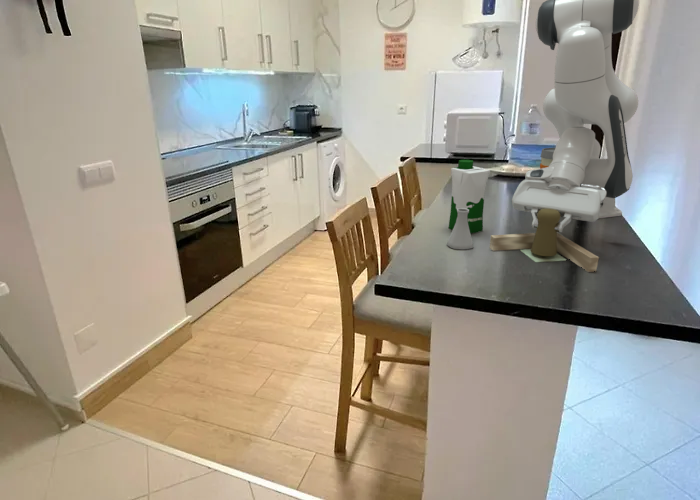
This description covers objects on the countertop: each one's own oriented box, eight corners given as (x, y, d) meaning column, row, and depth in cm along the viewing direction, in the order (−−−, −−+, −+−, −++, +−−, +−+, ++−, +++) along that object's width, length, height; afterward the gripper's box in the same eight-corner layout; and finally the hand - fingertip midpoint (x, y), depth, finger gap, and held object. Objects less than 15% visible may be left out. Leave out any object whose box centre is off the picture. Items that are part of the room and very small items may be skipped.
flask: (443, 241, 123) (445, 206, 119) (469, 240, 124) (472, 205, 120) (450, 250, 116) (453, 214, 113) (477, 250, 117) (481, 213, 113)
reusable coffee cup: (572, 186, 179) (579, 148, 173) (567, 193, 169) (574, 153, 163) (539, 183, 185) (544, 146, 180) (533, 189, 175) (538, 151, 170)
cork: (559, 256, 109) (566, 213, 105) (533, 255, 110) (538, 212, 106) (553, 248, 114) (559, 206, 111) (528, 247, 116) (534, 205, 112)
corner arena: (553, 244, 120) (555, 231, 119) (596, 271, 103) (598, 257, 102) (489, 247, 118) (490, 235, 117) (521, 276, 101) (524, 262, 100)
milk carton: (466, 223, 137) (472, 158, 130) (487, 231, 130) (494, 162, 122) (443, 228, 134) (448, 160, 126) (464, 236, 126) (470, 166, 119)
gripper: (608, 194, 110) (593, 243, 106) (523, 183, 121) (507, 227, 118) (608, 179, 105) (592, 230, 101) (520, 170, 116) (503, 215, 113)
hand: (546, 228), depth 110 cm, fingers closed on cork, 4 cm apart
